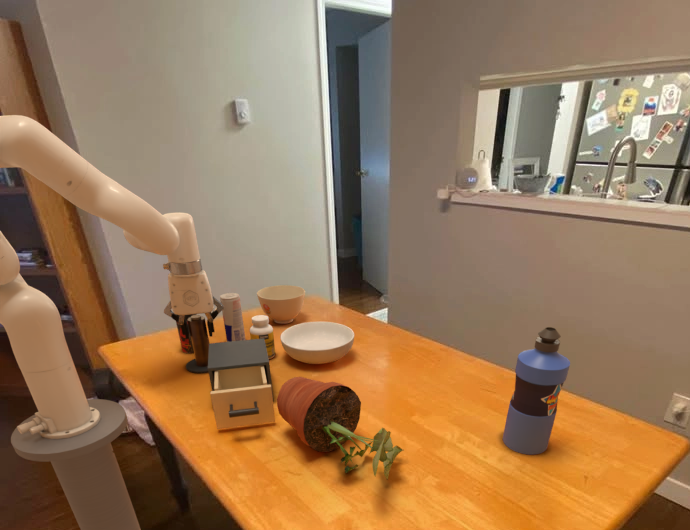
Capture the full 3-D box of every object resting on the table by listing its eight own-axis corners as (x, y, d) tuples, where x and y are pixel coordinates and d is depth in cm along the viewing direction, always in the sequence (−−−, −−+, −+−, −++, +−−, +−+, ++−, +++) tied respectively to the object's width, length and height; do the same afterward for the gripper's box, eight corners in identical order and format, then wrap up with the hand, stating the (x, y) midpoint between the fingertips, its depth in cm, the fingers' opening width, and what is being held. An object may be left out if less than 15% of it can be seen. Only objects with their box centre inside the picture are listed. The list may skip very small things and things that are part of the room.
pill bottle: (255, 362, 130) (250, 323, 124) (250, 354, 135) (245, 315, 129) (278, 358, 132) (274, 319, 126) (272, 350, 137) (268, 312, 131)
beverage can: (246, 339, 145) (239, 291, 137) (245, 346, 140) (238, 297, 132) (228, 340, 144) (220, 292, 136) (226, 347, 139) (218, 298, 131)
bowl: (315, 323, 157) (313, 294, 151) (271, 332, 149) (267, 302, 144) (295, 310, 168) (292, 282, 163) (253, 318, 161) (249, 289, 156)
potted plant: (270, 443, 99) (382, 521, 75) (262, 377, 92) (383, 440, 68) (327, 422, 108) (444, 485, 84) (324, 360, 101) (450, 410, 78)
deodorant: (206, 349, 138) (197, 300, 130) (188, 355, 134) (177, 305, 126) (196, 344, 141) (187, 295, 133) (178, 349, 138) (167, 300, 130)
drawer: (277, 432, 98) (273, 396, 94) (217, 440, 96) (210, 403, 91) (269, 393, 113) (265, 360, 108) (217, 399, 110) (211, 366, 105)
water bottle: (556, 442, 97) (587, 329, 84) (534, 460, 91) (563, 343, 78) (516, 424, 102) (539, 316, 89) (493, 441, 97) (514, 328, 84)
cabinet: (273, 401, 111) (269, 361, 105) (215, 408, 108) (207, 368, 103) (268, 375, 123) (264, 338, 118) (215, 381, 120) (208, 343, 115)
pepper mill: (203, 368, 125) (193, 320, 118) (193, 364, 128) (183, 317, 120) (216, 362, 128) (207, 315, 121) (206, 358, 131) (197, 312, 123)
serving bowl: (268, 355, 134) (265, 333, 130) (324, 337, 146) (323, 316, 142) (311, 380, 121) (310, 355, 117) (369, 357, 133) (369, 335, 129)
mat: (202, 376, 122) (201, 374, 122) (178, 367, 127) (178, 365, 127) (231, 363, 129) (230, 361, 129) (207, 355, 134) (207, 353, 134)
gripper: (147, 273, 109) (164, 344, 119) (221, 268, 113) (232, 338, 122) (151, 265, 115) (167, 334, 125) (221, 261, 119) (231, 328, 129)
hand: (199, 335), depth 124 cm, fingers open, 5 cm apart
